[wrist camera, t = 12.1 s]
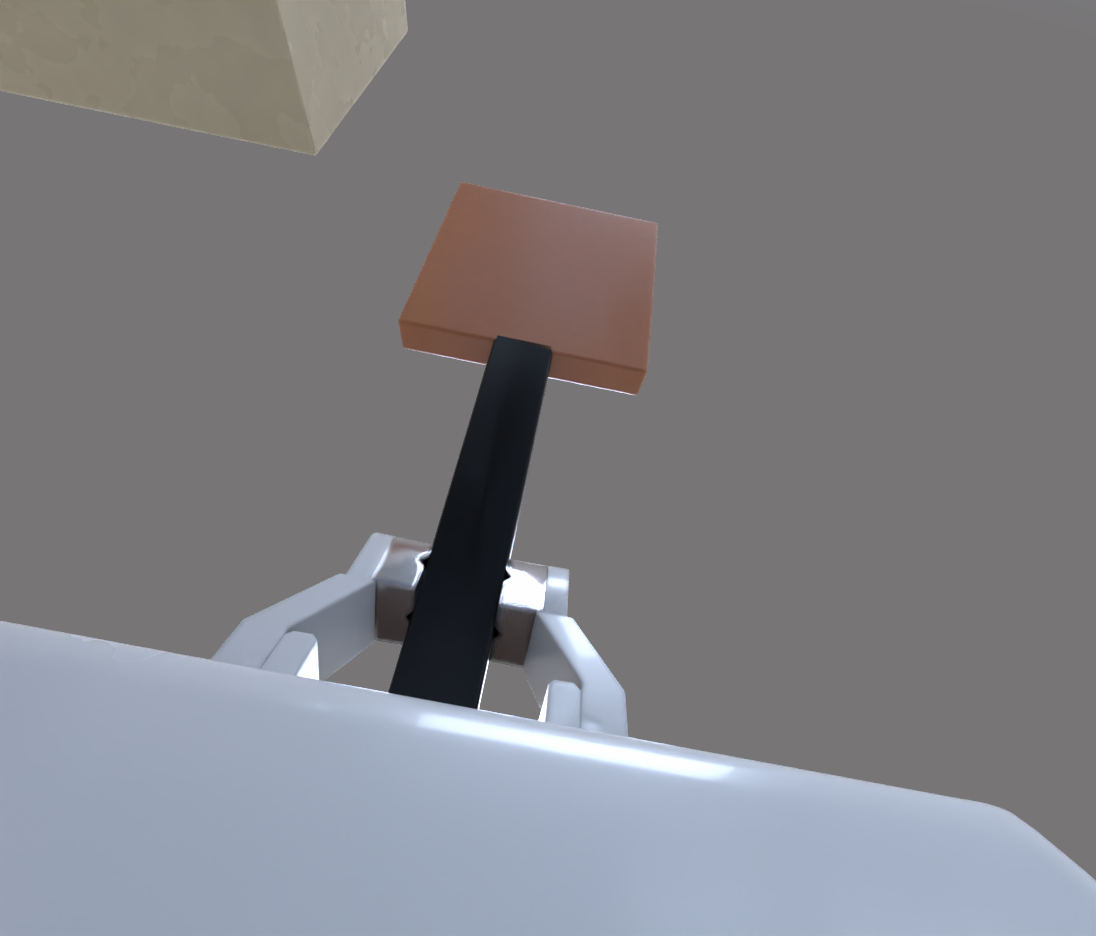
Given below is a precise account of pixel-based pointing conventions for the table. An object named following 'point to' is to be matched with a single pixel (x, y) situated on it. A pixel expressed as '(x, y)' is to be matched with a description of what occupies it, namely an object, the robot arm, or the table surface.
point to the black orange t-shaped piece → (511, 391)
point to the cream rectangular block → (204, 61)
